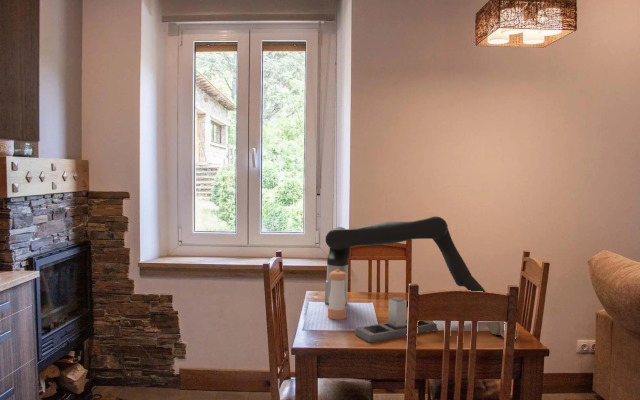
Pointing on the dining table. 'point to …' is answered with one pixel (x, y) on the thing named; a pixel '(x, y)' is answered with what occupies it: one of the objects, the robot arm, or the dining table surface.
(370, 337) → the grey compartment tray
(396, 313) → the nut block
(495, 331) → the ceramic mug
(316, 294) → the dining table surface
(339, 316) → the pepper mill
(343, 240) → the robot arm
